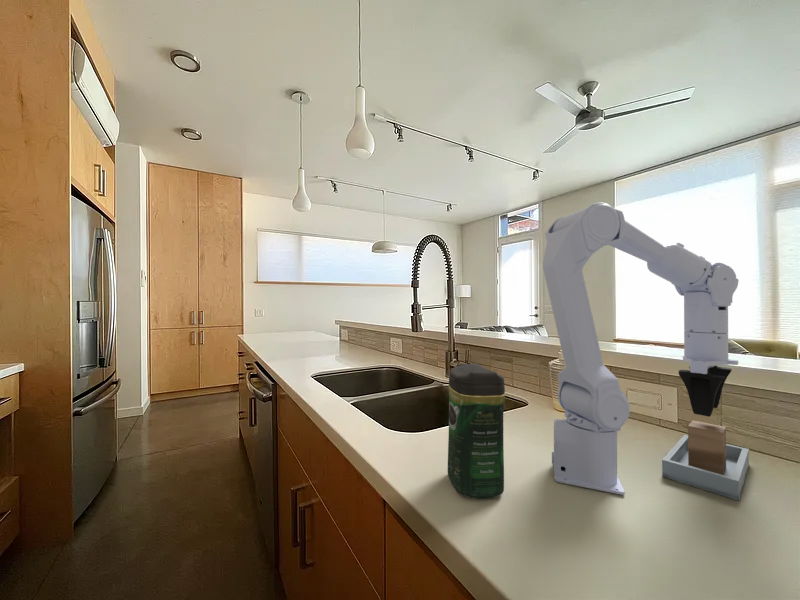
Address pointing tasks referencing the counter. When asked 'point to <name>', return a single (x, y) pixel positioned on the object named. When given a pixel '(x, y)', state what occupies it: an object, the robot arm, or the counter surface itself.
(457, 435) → the coffee jar
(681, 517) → the counter surface
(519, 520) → the counter surface
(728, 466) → the tray
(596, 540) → the counter surface
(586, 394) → the robot arm
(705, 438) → the walnut block
